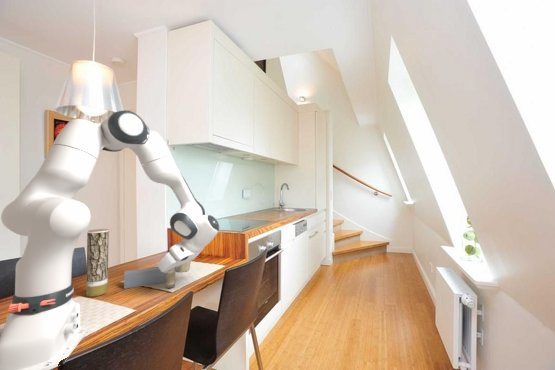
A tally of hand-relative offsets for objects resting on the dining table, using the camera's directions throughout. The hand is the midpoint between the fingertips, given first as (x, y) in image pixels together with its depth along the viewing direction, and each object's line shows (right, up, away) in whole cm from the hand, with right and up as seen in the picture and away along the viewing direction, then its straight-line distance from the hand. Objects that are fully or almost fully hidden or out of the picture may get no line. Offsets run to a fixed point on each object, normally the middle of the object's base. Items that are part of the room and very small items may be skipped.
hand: (169, 270), depth 104 cm
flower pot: (-3, -8, +22) cm, 24 cm away
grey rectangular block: (-12, -7, +4) cm, 15 cm away
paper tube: (-25, -7, -7) cm, 27 cm away
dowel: (+1, -7, 0) cm, 7 cm away
